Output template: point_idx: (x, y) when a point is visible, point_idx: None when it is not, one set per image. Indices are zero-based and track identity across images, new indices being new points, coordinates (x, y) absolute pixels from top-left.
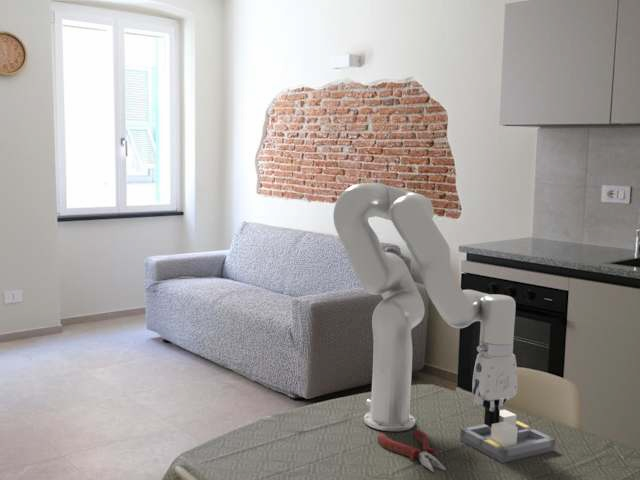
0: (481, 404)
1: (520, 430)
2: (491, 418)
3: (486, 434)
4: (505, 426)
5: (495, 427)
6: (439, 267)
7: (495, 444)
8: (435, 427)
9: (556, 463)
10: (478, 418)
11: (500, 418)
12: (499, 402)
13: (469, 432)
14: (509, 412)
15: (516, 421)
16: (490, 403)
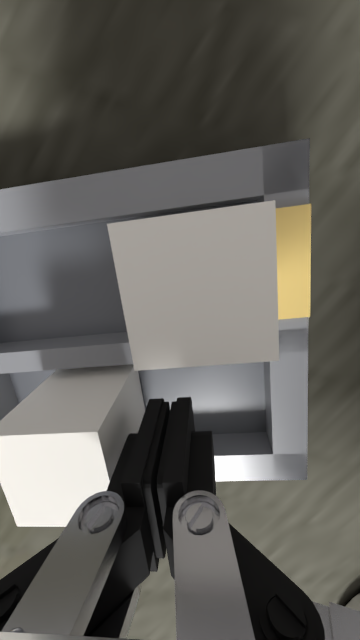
0: (354, 613)
1: (22, 368)
2: (192, 451)
3: None
4: (203, 275)
5: (276, 311)
6: None
7: (289, 240)
8: (297, 551)
9: (9, 60)
10: None
11: (111, 445)
12: (92, 580)
13: (298, 433)
14: (10, 483)
15: None
16: (238, 595)
